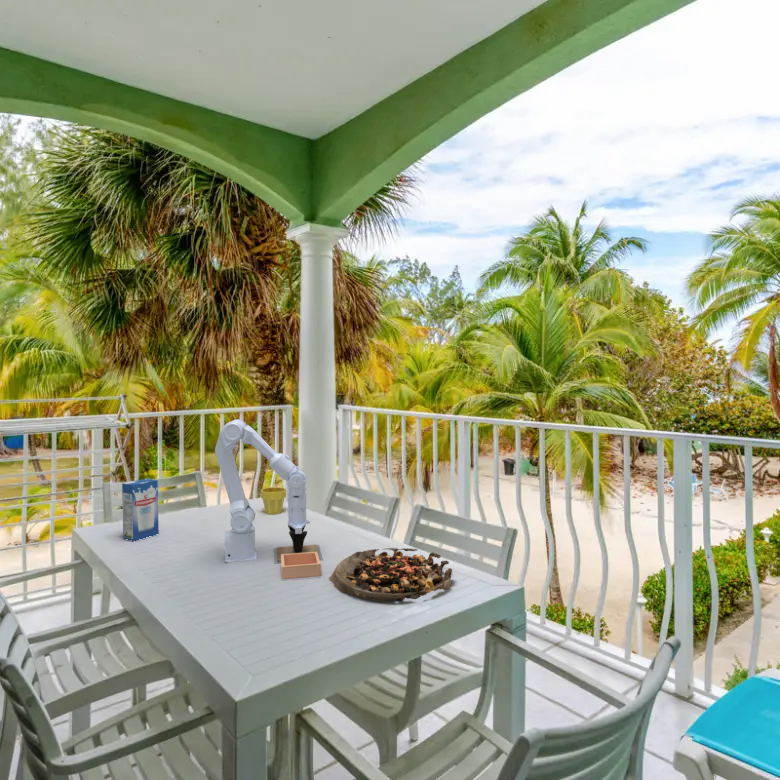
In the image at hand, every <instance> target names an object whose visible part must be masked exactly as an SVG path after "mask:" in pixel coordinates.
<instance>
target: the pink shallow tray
mask: <svg viewBox="0 0 780 780" xmlns="http://www.w3.org/2000/svg"><path fill="white" fill-rule="evenodd" d="M321 565H322V564H321V561H320V560H319V556H318V553H317V552H306V553H293V554H281V564H280V568H281V569H280V571H281V580H282V581H283V582H284V581H286V582H287V580H289V579H290V580H292V579H294V581H295V580H296V581H297V580H299V579H304V578H306V580H307V579H311V578H312V577H313V578H317V577H318V579H320V578H321V570H322V569H321Z"/></svg>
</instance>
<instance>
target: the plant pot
mask: <svg viewBox="0 0 780 780" xmlns="http://www.w3.org/2000/svg"><path fill="white" fill-rule="evenodd" d="M286 497H287V489H286V488H285V487H281V486H269V487H264V488H262V489H261V490H260V498H261V499H262V502H263V505H264V512H265V514H267V515H278V514H281V513H282V510H283V507H284V501H285V498H286Z"/></svg>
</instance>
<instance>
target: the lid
mask: <svg viewBox="0 0 780 780" xmlns="http://www.w3.org/2000/svg"><path fill="white" fill-rule="evenodd" d="M316 545H317V544H305V545H303V549H302V553H306V552H317V553H318V549H317V546H316ZM276 548H277V562H278V563H279V562H281V554H293V553H295V552H294V547H293V545H292V546H279V547H278V546H277V547H276ZM318 556H319V553H318ZM319 559H320V557H319Z"/></svg>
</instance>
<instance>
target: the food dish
mask: <svg viewBox="0 0 780 780" xmlns="http://www.w3.org/2000/svg"><path fill="white" fill-rule="evenodd" d="M379 550H380V548H377V549H376V548H374V549H367V550H363V551H355V552H354V553H352V554H351V555H349V556H347V557H345V558H343V560H342V561H340V562H339V563H338V564H337V565H336V567H335V568H334V570H333V572H332V574H331V575H330V577H329V579H328V580H329V582H331V583H332V584H333V586H334V588H336V589H337V591H339V593H342V594H347V595H349V596H350V597H357V598H362V599H366V600H372V601H373V600H374V601H378V602H394V601H403V600H405V599H411V600H416V599H418V598H420V597H421V596H427V594H428V593H429V594H430V593H431V592H436V591H437V590H448V589H449V588H450V586H451V582H452V581H451V580H452V579H451V578H452V574H453V569H452V568H451V567H449V568H447V569H446V570H445V573H444V571H443V570H444V567H445V566H446V565H449V561H448V560H441V561H440V565H439V563H437V562H436V563H434V562H435V561H434V559H435V558H437V559H440V558H441V557H442V556H441V554H439V553H435V552H430V553H429V554H428V557H427V558H426V557H425V556H424V555H423V554H421V555H418V554H413V555H412V556H410V555H406V554H405V555H404V553H403V552H402V551H405V552H415V551H418V548H409V547H408V548H397V547H394V548H393V547H388V548H387V547H386V548H382V549H381V550H390V551H393V553H392V555H389V553H388V552H387V551H383V552H381V553H378V554H376V552H378V551H379ZM433 557H434V558H433Z"/></svg>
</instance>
